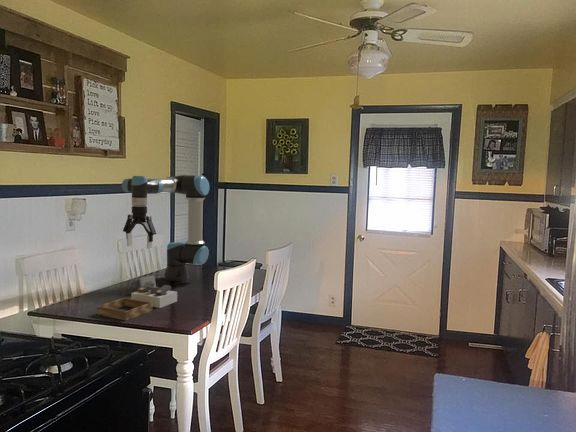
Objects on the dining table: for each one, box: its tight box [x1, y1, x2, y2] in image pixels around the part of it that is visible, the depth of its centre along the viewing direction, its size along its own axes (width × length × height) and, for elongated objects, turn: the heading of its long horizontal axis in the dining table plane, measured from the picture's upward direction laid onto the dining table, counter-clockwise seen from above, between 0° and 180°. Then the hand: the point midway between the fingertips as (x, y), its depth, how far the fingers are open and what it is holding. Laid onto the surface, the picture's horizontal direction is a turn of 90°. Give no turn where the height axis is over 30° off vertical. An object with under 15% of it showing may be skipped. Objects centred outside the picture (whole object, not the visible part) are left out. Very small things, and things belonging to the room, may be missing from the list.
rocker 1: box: [137, 283, 154, 293], centre depth 250 cm, size 8×4×2 cm, turn 156°
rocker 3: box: [155, 284, 172, 296], centre depth 245 cm, size 8×4×2 cm, turn 156°
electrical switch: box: [137, 275, 157, 289], centre depth 267 cm, size 9×5×9 cm, turn 141°
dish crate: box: [96, 297, 154, 321], centre depth 229 cm, size 18×18×4 cm
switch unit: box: [130, 290, 178, 309], centre depth 248 cm, size 14×18×6 cm
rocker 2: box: [146, 286, 161, 291], centre depth 248 cm, size 8×4×2 cm, turn 156°
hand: (139, 246), depth 249 cm, fingers open, 13 cm apart
